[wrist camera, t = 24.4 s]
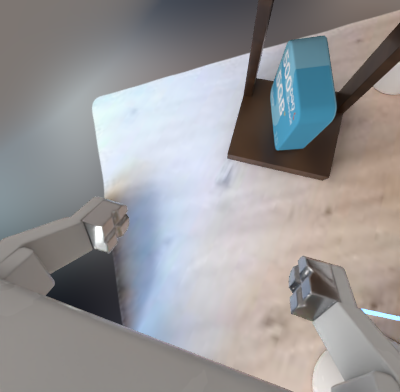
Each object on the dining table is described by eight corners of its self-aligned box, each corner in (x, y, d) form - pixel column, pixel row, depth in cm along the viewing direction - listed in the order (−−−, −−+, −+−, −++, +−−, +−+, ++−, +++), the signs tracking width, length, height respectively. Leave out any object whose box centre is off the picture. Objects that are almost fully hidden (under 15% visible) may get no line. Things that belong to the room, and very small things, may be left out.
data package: (269, 92, 38) (289, 33, 26) (294, 89, 38) (326, 28, 26) (275, 153, 36) (300, 119, 25) (301, 151, 36) (339, 115, 24)
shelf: (339, 101, 39) (643, -218, 11) (322, 180, 37) (626, 47, 9) (247, 85, 41) (297, -205, 13) (227, 158, 40) (236, 2, 12)
